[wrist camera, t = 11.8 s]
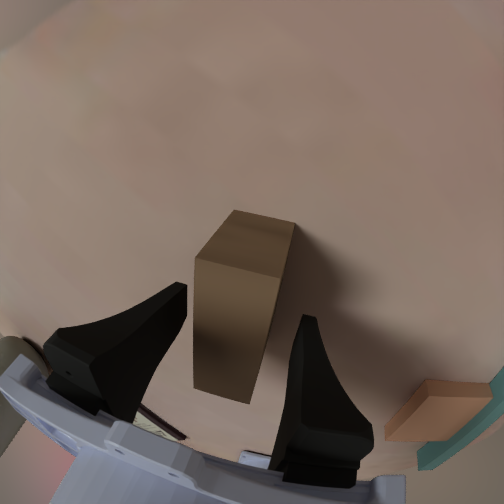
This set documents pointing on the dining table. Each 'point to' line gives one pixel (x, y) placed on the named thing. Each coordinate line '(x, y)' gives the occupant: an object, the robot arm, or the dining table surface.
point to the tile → (438, 411)
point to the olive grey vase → (3, 414)
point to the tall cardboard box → (237, 302)
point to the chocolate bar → (156, 424)
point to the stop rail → (464, 430)
